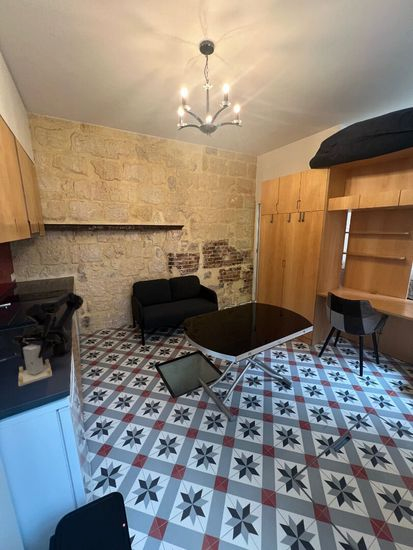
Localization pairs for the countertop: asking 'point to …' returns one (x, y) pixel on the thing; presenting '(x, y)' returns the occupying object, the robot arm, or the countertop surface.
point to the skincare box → (33, 359)
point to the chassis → (29, 378)
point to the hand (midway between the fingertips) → (30, 358)
